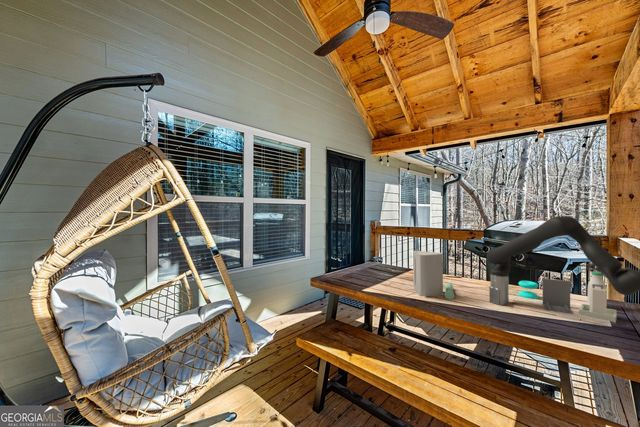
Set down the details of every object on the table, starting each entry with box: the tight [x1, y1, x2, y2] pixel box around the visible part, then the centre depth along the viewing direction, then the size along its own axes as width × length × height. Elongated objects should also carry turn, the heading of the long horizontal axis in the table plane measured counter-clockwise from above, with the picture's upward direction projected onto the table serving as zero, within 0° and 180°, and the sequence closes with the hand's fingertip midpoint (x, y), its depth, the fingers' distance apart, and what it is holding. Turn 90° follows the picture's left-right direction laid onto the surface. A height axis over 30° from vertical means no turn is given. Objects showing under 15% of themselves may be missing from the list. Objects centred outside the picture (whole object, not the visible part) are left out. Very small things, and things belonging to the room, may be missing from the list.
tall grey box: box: [412, 250, 444, 297], centre depth 182 cm, size 19×15×28 cm
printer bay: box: [542, 277, 575, 315], centre depth 150 cm, size 12×12×16 cm
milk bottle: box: [587, 270, 608, 308], centre depth 154 cm, size 8×8×20 cm
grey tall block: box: [589, 284, 607, 315], centre depth 140 cm, size 6×5×16 cm
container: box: [444, 282, 455, 300], centre depth 183 cm, size 6×6×25 cm
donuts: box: [518, 280, 539, 300], centre depth 171 cm, size 10×10×10 cm
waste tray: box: [578, 303, 618, 324], centre depth 141 cm, size 13×13×4 cm
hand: (604, 266), depth 131 cm, fingers open, 8 cm apart
